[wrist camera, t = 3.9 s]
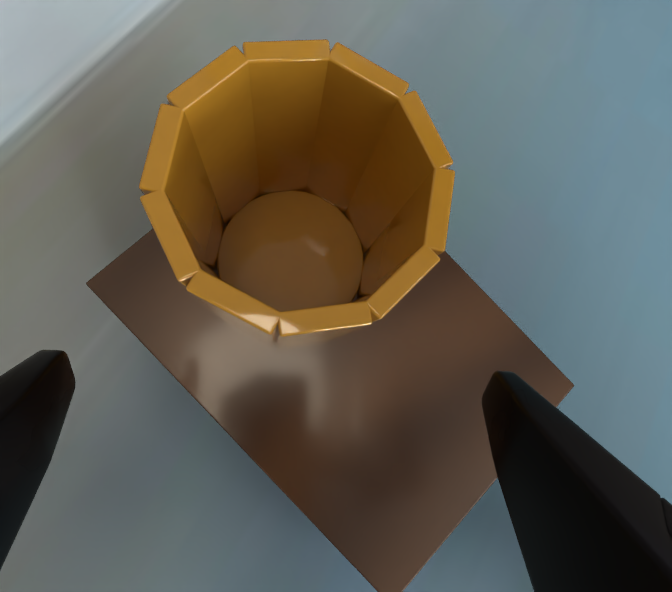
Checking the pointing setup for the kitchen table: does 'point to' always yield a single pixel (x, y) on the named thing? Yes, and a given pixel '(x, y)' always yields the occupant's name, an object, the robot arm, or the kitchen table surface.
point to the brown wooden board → (348, 403)
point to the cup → (297, 189)
